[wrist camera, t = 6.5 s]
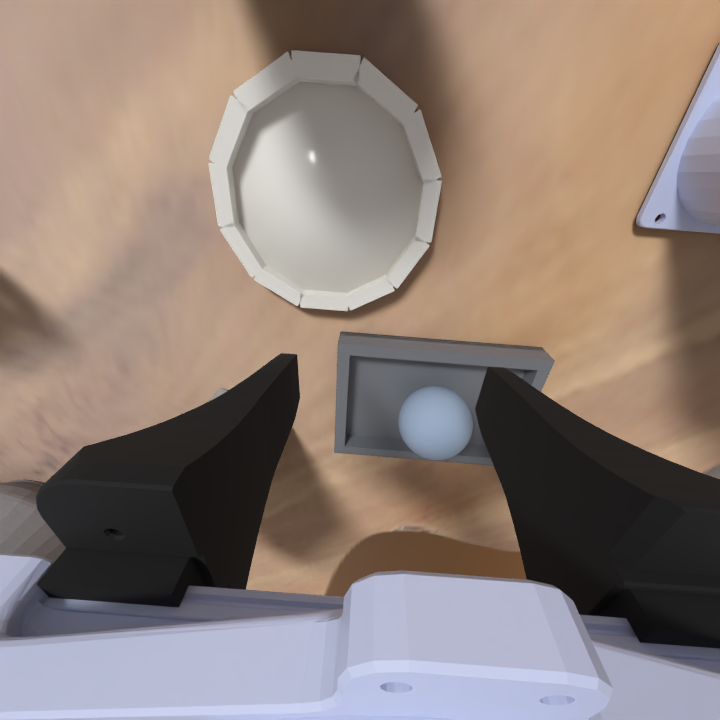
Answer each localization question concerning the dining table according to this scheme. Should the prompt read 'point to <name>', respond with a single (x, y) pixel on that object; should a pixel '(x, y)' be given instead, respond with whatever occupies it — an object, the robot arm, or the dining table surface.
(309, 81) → the saucer
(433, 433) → the ball
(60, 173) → the dining table surface
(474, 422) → the tray
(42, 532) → the coffee pot
